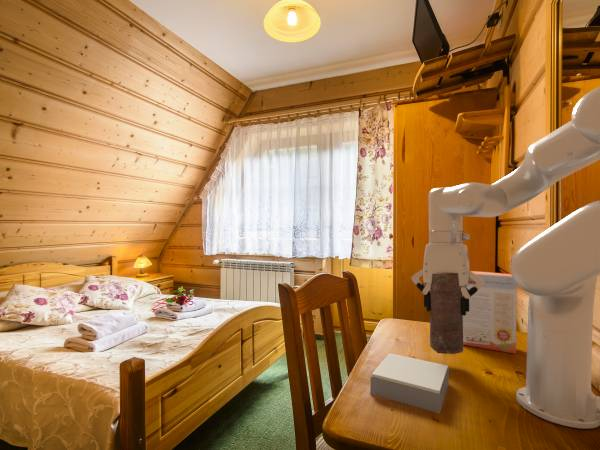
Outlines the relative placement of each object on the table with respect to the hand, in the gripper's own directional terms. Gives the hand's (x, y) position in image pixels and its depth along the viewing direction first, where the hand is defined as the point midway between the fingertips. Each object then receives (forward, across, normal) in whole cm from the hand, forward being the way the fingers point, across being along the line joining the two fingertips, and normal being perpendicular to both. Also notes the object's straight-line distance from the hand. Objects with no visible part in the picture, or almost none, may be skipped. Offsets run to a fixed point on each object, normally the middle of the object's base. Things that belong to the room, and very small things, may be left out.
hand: (446, 311), depth 79 cm
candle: (+10, 0, 0) cm, 10 cm away
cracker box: (+13, -8, -22) cm, 27 cm away
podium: (+13, +5, +16) cm, 21 cm away
